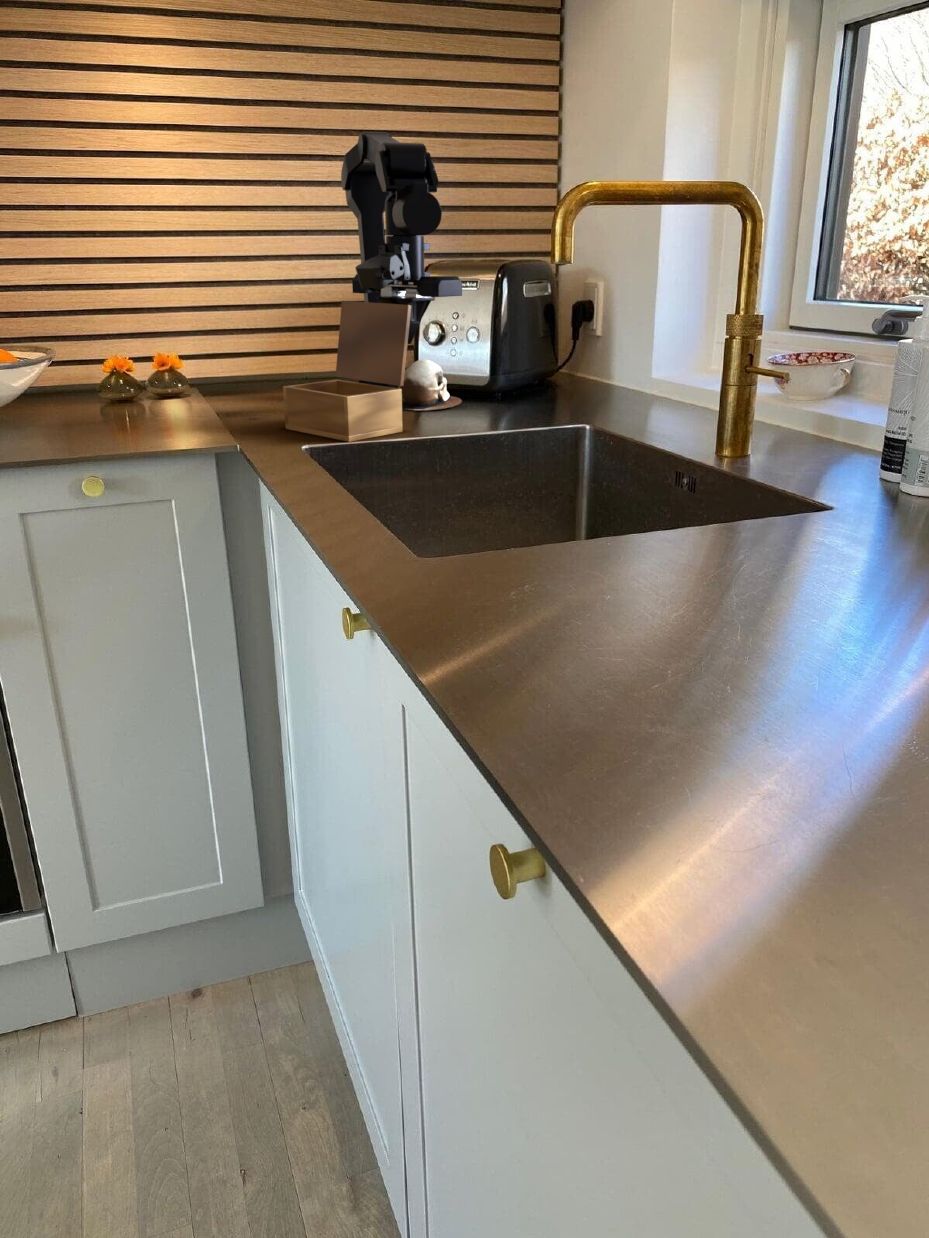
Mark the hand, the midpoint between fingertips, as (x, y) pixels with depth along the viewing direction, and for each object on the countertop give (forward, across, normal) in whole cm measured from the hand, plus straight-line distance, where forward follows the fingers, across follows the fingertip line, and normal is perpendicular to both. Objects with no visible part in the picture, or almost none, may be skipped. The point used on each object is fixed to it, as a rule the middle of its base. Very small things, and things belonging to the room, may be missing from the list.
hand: (407, 344), depth 147 cm
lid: (-1, 0, -8) cm, 8 cm away
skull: (+12, -7, +11) cm, 18 cm away
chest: (+12, 0, -14) cm, 18 cm away
